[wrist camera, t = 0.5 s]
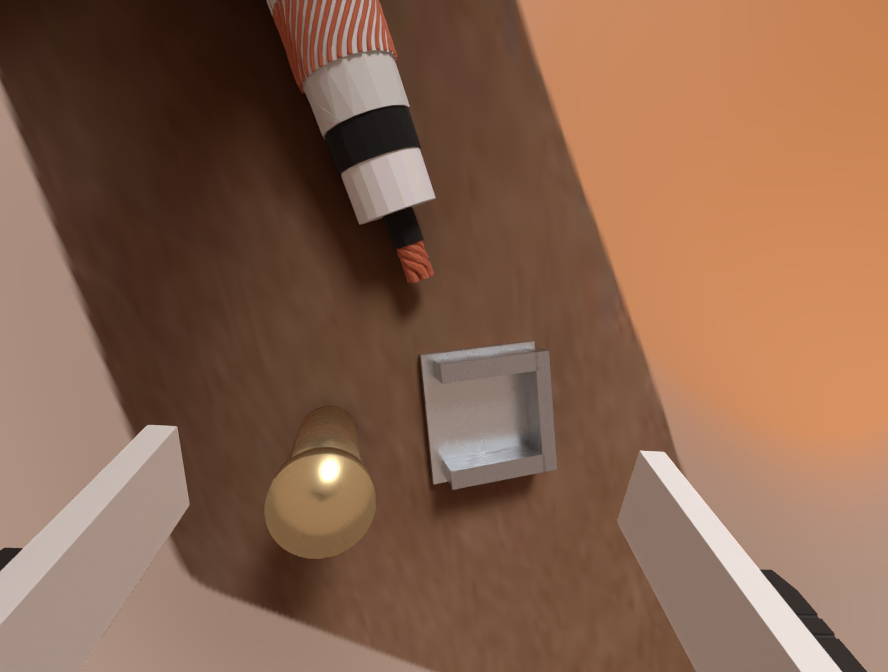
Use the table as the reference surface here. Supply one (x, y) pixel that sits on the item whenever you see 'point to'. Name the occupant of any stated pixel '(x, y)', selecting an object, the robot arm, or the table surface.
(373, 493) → the end pin
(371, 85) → the cable
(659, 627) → the table surface
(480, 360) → the keeper bracket
